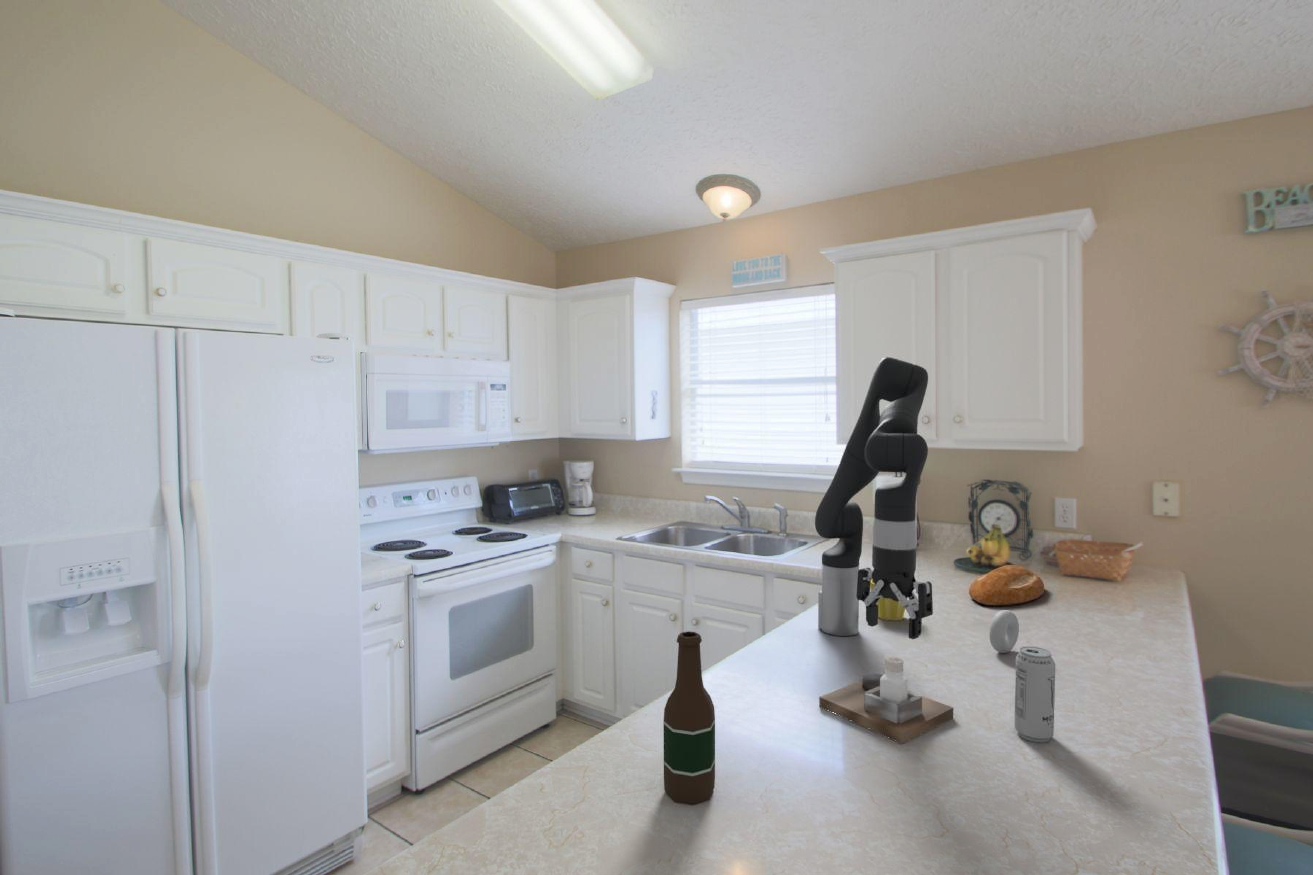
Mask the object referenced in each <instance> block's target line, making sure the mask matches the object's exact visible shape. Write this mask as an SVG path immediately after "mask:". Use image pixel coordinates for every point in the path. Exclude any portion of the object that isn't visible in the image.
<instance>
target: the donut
mask: <svg viewBox="0 0 1313 875" xmlns="http://www.w3.org/2000/svg"><path fill="white" fill-rule="evenodd" d="M990 622H991V623H990V626H989V642H990V645H991V647H992V648H993V649H994V651H996V652H998V653H1000V654H1006V653H1009V652H1010V651H1012V650H1013V648H1014V647H1015V645H1016V643H1017V642H1018V638H1019V635H1020V634H1019V633H1020V624H1019V619H1018V617H1017V616H1016V614H1015V613H1014V612H1012V611H1011V610H1008V609H1007V610H1006V609H1003V610H1000V611H998V612H997V613H995V615H994V616H993V619H992V620H991V621H990Z"/></svg>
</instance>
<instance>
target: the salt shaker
mask: <svg viewBox="0 0 1313 875" xmlns="http://www.w3.org/2000/svg"><path fill="white" fill-rule="evenodd" d="M884 671H885V672H884V674H882V675H883V676H882V677H881V678H880V697H881V698H883V699H886V700H888V701H891V702H893V703H896V704H899V703H901V702H903V701H905V700H908V691H909V689H908V687H909V682H908V681H909V680H908V678H907V677H906V676H904V675H903V674H904V673H903V672H904V659H902V658H901V657H900V658H899V657H897V656H886V657H885V659H884Z"/></svg>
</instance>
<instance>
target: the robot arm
mask: <svg viewBox="0 0 1313 875" xmlns="http://www.w3.org/2000/svg"><path fill="white" fill-rule="evenodd" d="M928 384H929V373H928V371H927V369H926V368H924V367H922V366H920V365H918V364H914V363H913V362H912V363H911V362H908V361H905V360H901V359H898V358H895V357H889V356H885V357H883V358H882V359H881V360H880V361H879V362H878V364H877V366H876V368H875V370H874V373H873V376H872V378H871V380H870V384H869V387H868V390H867V393H866V396H865V398H864V402H863V405H862V407H861V411H860V414H859V417H858V419H857V421H856V423H855V426H854V428H853V430H852V433H851V435H850V437H849V439H848V441H847V443H846V446H845V449H844V451H843V454H842V456H841V459H840V461H839V465H838V467H837V469H836V472H835V474H834V476H833V478H832V480H831V483H830V484H829V486H828V489H827V490H826V492H825V494H824V495H823V498H822V499H821V501H820V503H819V504H818V506H817V510H816V513H815V516H814V526H815V531H816V533H817V534H818V535H819V536H820V537H821V538H824V539H831V540H834V539H838V540H837V542H836V544H835V545H833V546H832V547H830V548H827V549H826V550H824V551H823V552H822V554H821V590H819V592H818V599H817V600H818V603H817V604H818V609H817V610H818V611H817V612H818V613H817V615H818V616H817V618H818V621H817V624H818V627H817V628H818V629H821V631H823V632H824V633H826V634H829V635H832V636H838V637H839V636H840V637H850V636H856V635H858V633H859V629H860V628H859V623H860V622H859V620H860V619H859V618H860V613H859V612H860V610H859V609H860V608H859V607H860V601H862V602H863V603H864V605H865V621H866V623H867V626H869V627H871V628H872V627H875V626H877V625H879V617H878V605H876V603H877V602H878V601H879V600H880V599H881V598H882V597H883V598H890V599H892V600H894V601H897V602H898V601H899V602H900V603H901V605H902V607H904V608H905V610H906V612H907V615H908V616H909V618H908V639H910V640H915V639H918V638H919V637H920V636H921V635H922V628H923V627H922V626H923V625H922V624H923V620H922V619H924V618H927V617H931V616H932V615H933V614H934V608H933V605H934V604H933V585H932V582H931V581H925V582H924V581H923V582H922V581H917V580H916V576H915V573H916V569H917V542H918V541H917V535H918V534H917V533H918V532H917V525H916V524H917V523H916V514H917V513H916V510H917V507H916V506H917V493H918V488H919V484H920V480H921V477H922V474H923V470H924V467H925V464H926V462H927V459H928V454H929V448H928V443H927V441H926V439H925V438H924V437H923V436H922V435H920V434H918V426H919V425H918V421H919V420H918V419H919V415H920V412H921V410H922V406H923V403H924V400H925V396H926V391H927V388H928ZM881 400H883V401H885V402H886V401H887V402H888V404H886V406H885V407H884V408H883V409H882V411H881V413H880V401H881ZM879 473H899V474H900V473H903V474H905V476H904V478H903V480H901V481H899V482H897V483H891V484H890V483H889V484H883V485H880V486H878V487H877V488H876V489H875V493H874V520H873V526H872V547H871V549H872V551H871V552H872V554H871V555H872V556H871V557H872V558H871V566H872V568H873V570H872V569H871V567H864V568H861V569H860V560H861V559H860V558H861V557H862V551H863V550H862V549H863V547H862V546H863V534H864V517H863V511H862V509H861V507H860V505H859V504H858V503H857V502H855V501H850V500H852V498H853V497H855V496H856V495H857V494H858V493H859V492H861V491H862V490H863V489H864V488H865V487H867V486H868V485H870V483H872V481H873V480H875V479H876V478H877V476H878V474H879ZM871 580H873V581H874V583H875V587H874V588H873V589H872V590H870V583H871ZM914 590H915V592H914ZM915 593H916V594H917V595H916V594H915ZM907 597H908V598H907ZM906 598H907V599H906Z"/></svg>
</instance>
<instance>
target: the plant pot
mask: <svg viewBox="0 0 1313 875" xmlns="http://www.w3.org/2000/svg"><path fill="white" fill-rule="evenodd" d="M874 587H875V583H874V581H873V580H871V583H870V591H871V590H872V589H873V588H874ZM906 599H907V600H908V599H909V598H908V597H907V598H906ZM876 605H878V619H882V620H884V621H885V620H886V621H900V620H903V618H904V616H905V610H906V609H905V608H904V607H902V605H901V603H900V602H899V601H898V602H897V601H894V600H892V599H890V598H883V597H882V598H881V599H880V600H879V601H878V602H877V603H876Z"/></svg>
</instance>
